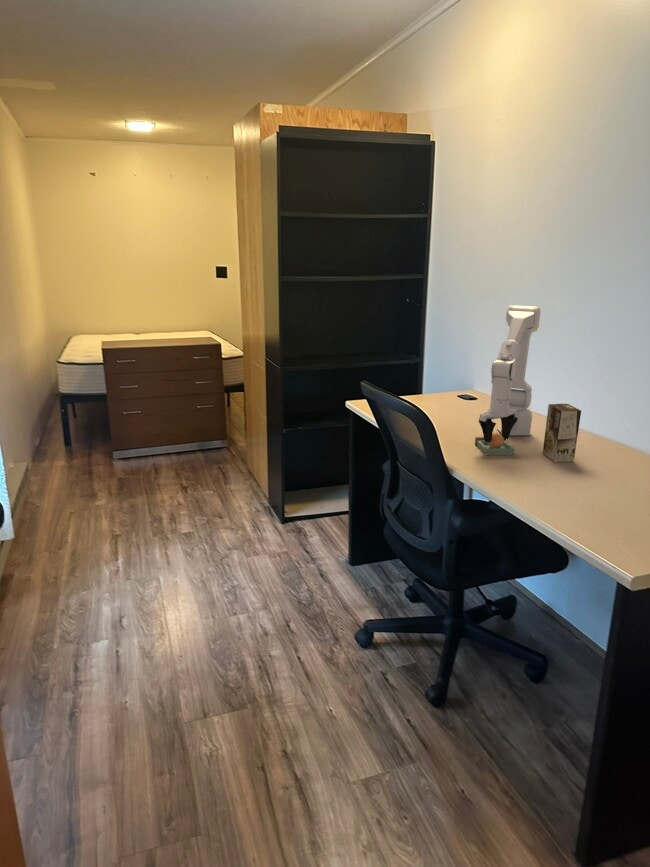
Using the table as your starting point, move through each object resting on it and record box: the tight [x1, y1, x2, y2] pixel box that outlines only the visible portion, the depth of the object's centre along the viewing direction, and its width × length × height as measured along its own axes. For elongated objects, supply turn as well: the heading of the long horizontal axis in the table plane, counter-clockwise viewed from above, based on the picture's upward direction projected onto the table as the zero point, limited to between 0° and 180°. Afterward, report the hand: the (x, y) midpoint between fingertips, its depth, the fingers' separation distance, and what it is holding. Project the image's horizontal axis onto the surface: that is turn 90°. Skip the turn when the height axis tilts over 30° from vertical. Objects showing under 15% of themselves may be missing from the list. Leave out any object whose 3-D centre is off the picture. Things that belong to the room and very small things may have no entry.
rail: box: [474, 436, 507, 446], centre depth 194 cm, size 10×1×2 cm, turn 94°
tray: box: [476, 440, 515, 456], centre depth 189 cm, size 9×9×2 cm
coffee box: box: [542, 403, 582, 463], centre depth 181 cm, size 9×6×16 cm
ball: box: [488, 432, 504, 449], centre depth 188 cm, size 5×5×5 cm
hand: (496, 440), depth 188 cm, fingers open, 7 cm apart
